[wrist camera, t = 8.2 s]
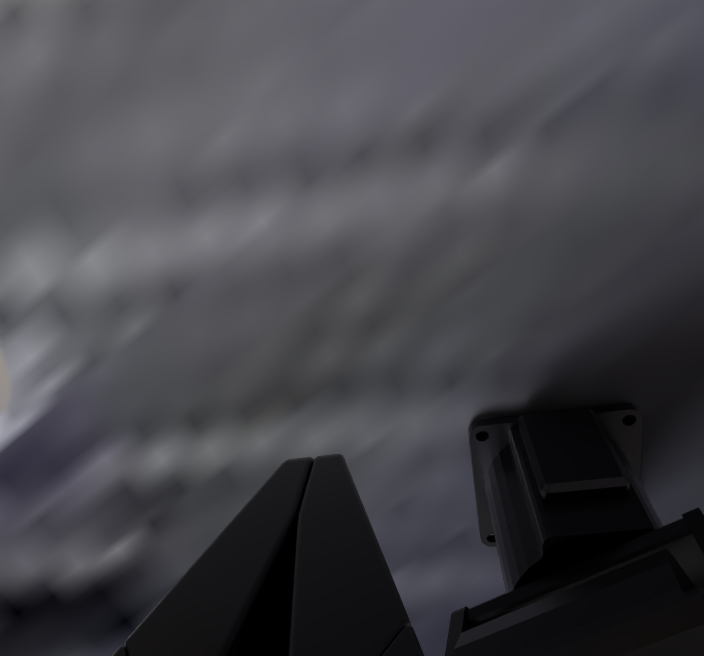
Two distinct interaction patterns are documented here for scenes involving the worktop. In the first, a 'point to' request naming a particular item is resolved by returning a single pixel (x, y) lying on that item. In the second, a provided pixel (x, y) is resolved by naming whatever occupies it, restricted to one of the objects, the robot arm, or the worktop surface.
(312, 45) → the worktop surface
